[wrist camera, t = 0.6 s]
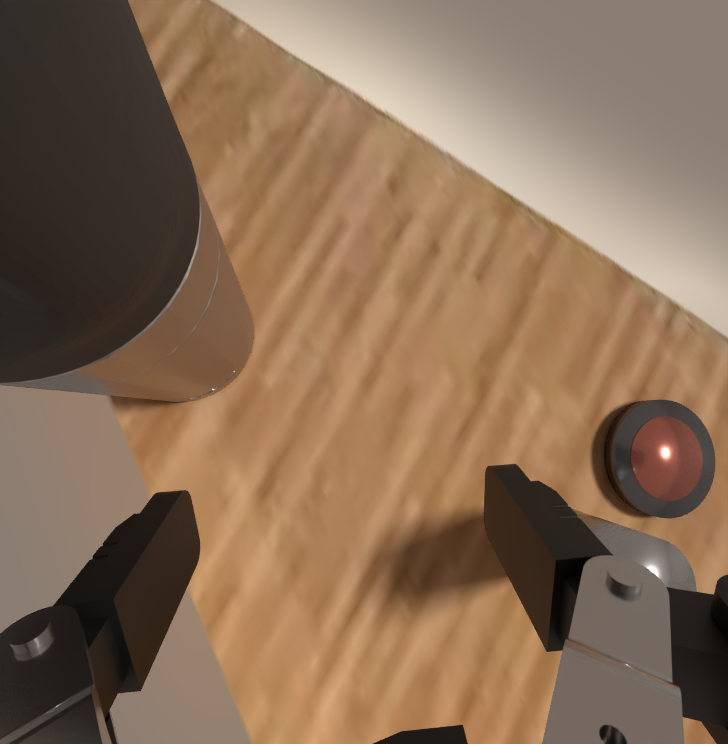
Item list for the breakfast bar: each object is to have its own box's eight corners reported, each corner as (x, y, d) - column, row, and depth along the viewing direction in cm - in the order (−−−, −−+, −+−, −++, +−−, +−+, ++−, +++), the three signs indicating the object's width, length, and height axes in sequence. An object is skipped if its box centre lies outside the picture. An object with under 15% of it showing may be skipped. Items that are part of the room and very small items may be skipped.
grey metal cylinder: (490, 520, 30) (589, 572, 20) (547, 485, 31) (666, 518, 21) (522, 584, 30) (636, 668, 20) (578, 547, 31) (712, 609, 21)
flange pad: (586, 432, 32) (596, 432, 31) (670, 381, 34) (683, 380, 33) (638, 536, 32) (650, 541, 31) (720, 480, 34) (734, 482, 32)
